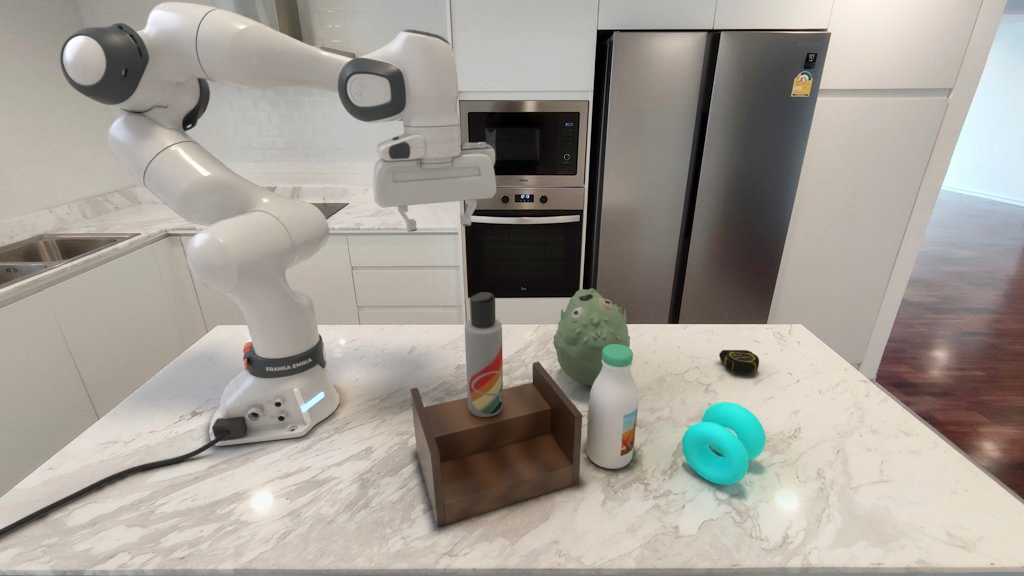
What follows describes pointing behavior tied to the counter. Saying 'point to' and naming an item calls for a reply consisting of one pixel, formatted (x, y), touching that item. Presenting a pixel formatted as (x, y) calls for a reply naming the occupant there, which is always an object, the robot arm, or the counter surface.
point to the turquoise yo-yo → (724, 443)
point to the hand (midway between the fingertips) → (439, 228)
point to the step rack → (497, 449)
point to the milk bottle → (612, 410)
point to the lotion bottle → (484, 357)
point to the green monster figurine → (588, 334)
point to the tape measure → (740, 361)
